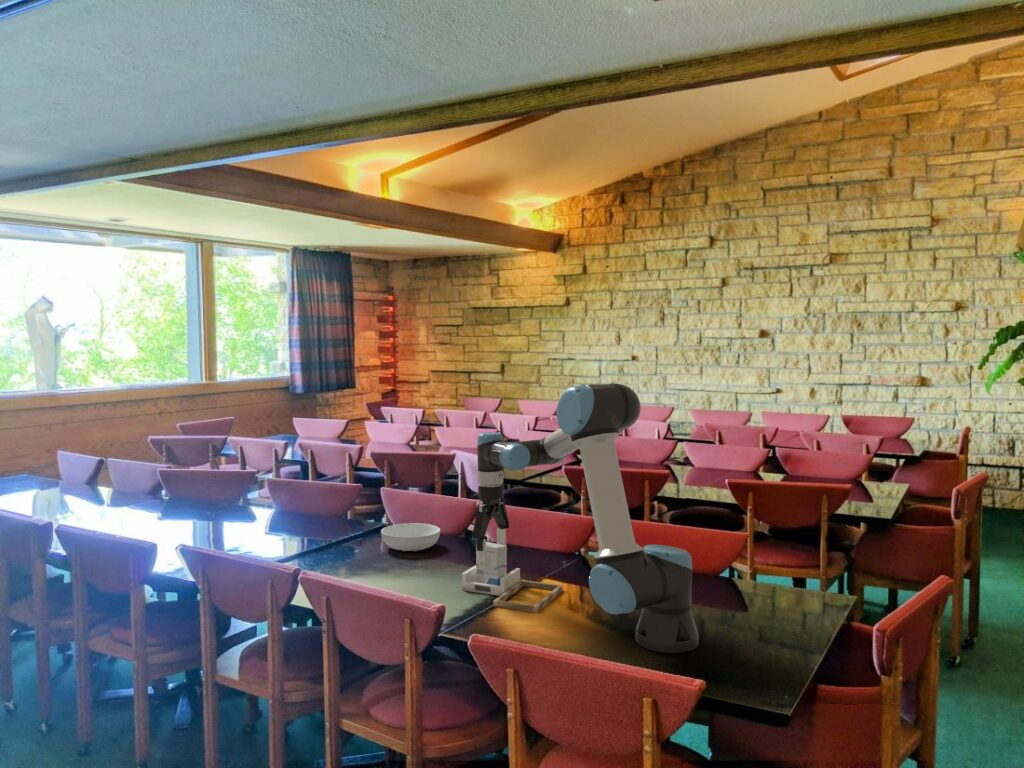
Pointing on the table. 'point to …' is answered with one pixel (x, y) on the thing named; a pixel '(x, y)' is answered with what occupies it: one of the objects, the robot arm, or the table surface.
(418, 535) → the serving bowl
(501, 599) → the tray frame
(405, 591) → the table surface
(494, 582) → the ink box
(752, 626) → the table surface
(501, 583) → the tray
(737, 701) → the table surface
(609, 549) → the robot arm
